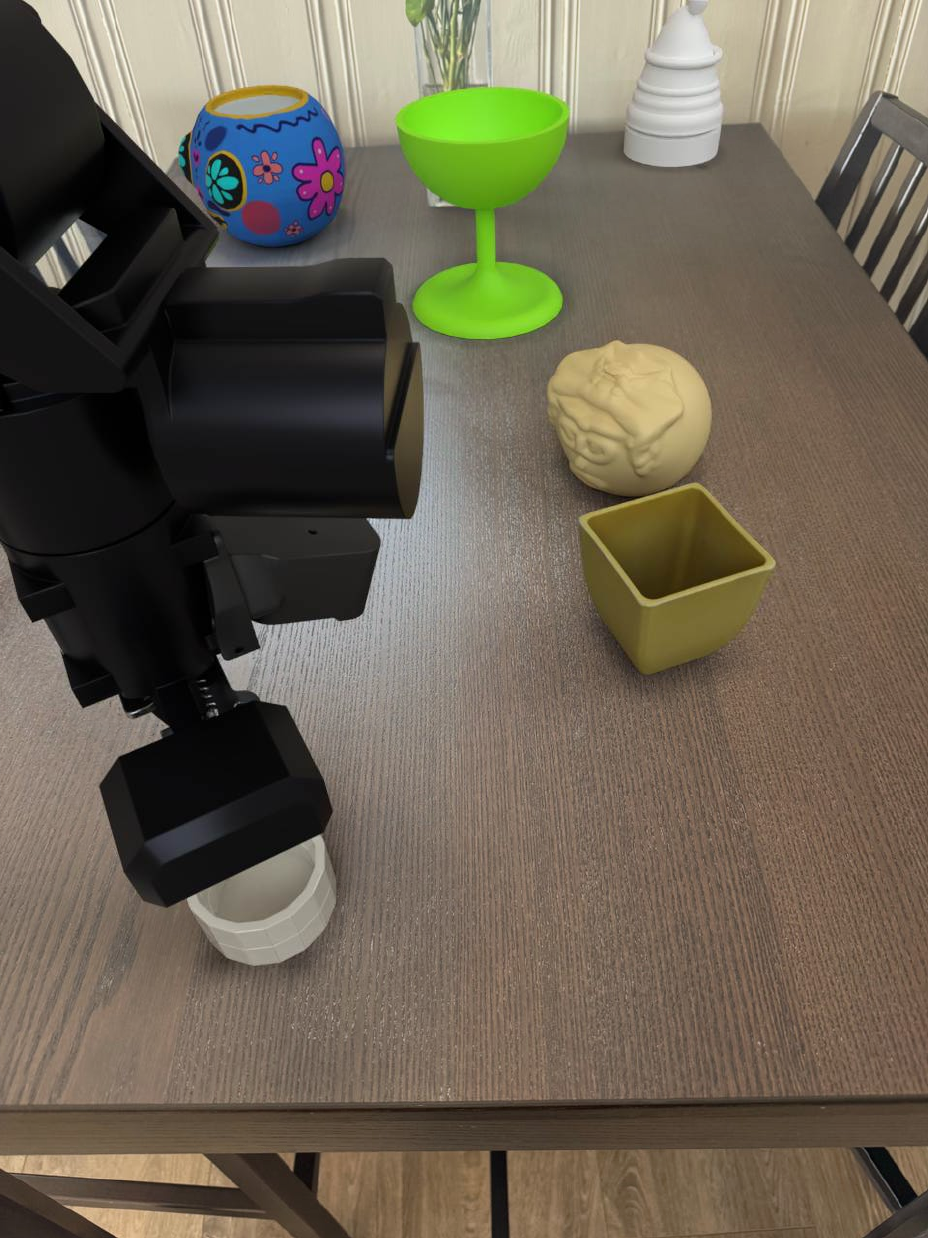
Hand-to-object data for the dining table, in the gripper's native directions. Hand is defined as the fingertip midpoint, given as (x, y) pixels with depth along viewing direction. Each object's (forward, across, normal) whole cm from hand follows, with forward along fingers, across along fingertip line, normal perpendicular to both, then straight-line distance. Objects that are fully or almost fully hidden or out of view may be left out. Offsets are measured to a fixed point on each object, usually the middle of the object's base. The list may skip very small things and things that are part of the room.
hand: (216, 778), depth 38 cm
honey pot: (+12, +78, -86) cm, 117 cm away
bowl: (+12, 0, 0) cm, 12 cm away
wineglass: (+12, +53, -43) cm, 69 cm away
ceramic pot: (+12, +81, -30) cm, 88 cm away
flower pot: (+12, +5, -29) cm, 32 cm away
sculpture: (+12, +21, -38) cm, 45 cm away
